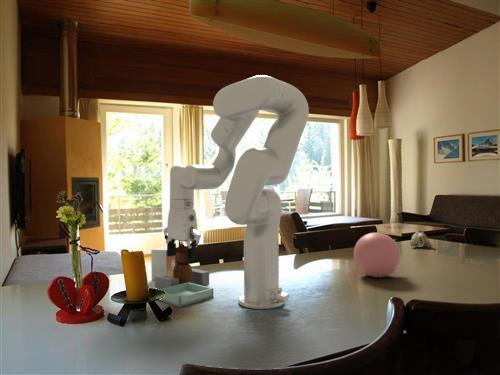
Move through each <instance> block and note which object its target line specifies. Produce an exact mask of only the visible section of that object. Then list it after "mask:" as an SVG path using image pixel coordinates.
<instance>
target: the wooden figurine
mask: <svg viewBox="0 0 500 375" xmlns="http://www.w3.org/2000/svg"><path fill="white" fill-rule="evenodd" d="M186 258H187V247H186V246H185V244H184V241H179V240H178V250H177V251H176V255H175V266H174V269H173V277H174V278H178V279H179V284H183V283H187V282H189V283H191V280H192V268H193V267H192V265H191V264H190V263H189V262H190V261H187V260H186Z"/></svg>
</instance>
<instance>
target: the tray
mask: <svg viewBox="0 0 500 375" xmlns="http://www.w3.org/2000/svg"><path fill="white" fill-rule="evenodd" d="M159 290H162V291H165V292H166V295H165V297H164V298H162V299H161V301H160V302H162V301H163V303H165V302H166V304H168V305H170V306H176V307H178V308H181V307H185V306H188V305H192V304H195V303H198V302H202V301H205V300H209V299H212V298H214V288H213V287H208V286H206V285H203V286H202V285H198V284H193V283H189V282H187V283H183V284H179V285H175V286H171V287H167V288H163V289H159Z"/></svg>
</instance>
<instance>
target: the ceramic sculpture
mask: <svg viewBox="0 0 500 375" xmlns="http://www.w3.org/2000/svg"><path fill="white" fill-rule="evenodd" d="M409 244H410V246H411V247H412V246H415V247H417V245H418V246H425V247H427V246H428V247H427V248H432V247H433V246H434V243H433V241H432V240H429V238H428V236H427V235H426V234H425V233H424V231H422V230H417V231H416V232H415V233H413V234H412V236H411V240H410V241H409Z"/></svg>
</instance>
